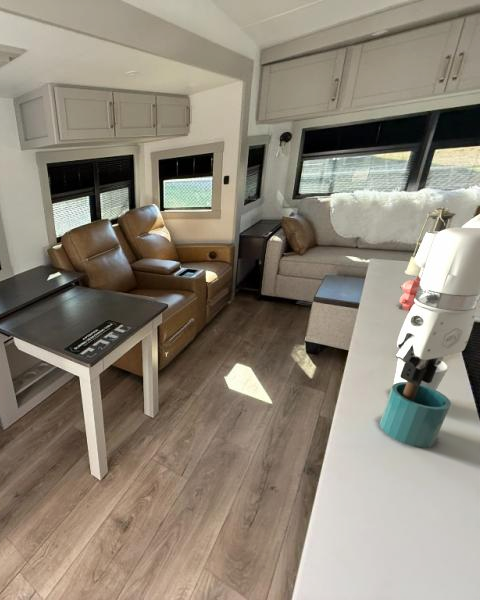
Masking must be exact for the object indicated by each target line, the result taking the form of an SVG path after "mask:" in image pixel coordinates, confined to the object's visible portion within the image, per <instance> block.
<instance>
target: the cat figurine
mask: <svg viewBox="0 0 480 600" xmlns="http://www.w3.org/2000/svg"><path fill="white" fill-rule="evenodd" d="M420 281H421V279H420V277H419V276H418V277H416V279H409V280H407V281H405V282H404V283H403V284H402V285H401V286H400V289H401V290H402V291H403V292H404V293H403V294H402V295H401V296H400V297H399V303H400V304H401V306H400V307H398V309H399V310H402V311H410V310H411V308H412V307H413V305H414V303H415V302H414V299H415V296H416V293H417V290H418V287H419V284H420Z"/></svg>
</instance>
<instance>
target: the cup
mask: <svg viewBox="0 0 480 600" xmlns="http://www.w3.org/2000/svg"><path fill="white" fill-rule="evenodd" d="M413 356H414V357H416V356H415V355H413ZM404 364H405V362H404V361H403V360H401V359H399V358H397V364H396V371H395V375H394V380H393V385H394V384H396V383H399V382H407V381H406V380H404V379H403V378H401V377H400V375H401V372H402V370H403V367H404ZM435 366H436V365H435ZM448 370H449V365H448V364H447V363H446V362H445V361H443V360H442V362H441V364H440V365H438V366H437V369H436V372H435V374H434V377H433V379H432V382H431V383H426V382H424V381H422V382H421V385H424V386H427V387H430V388H432V389H434V390H436V391H437V389H438V387H439V385H440V384H441V382H442V380H443V379H444V377H445V375H446V373H447V371H448ZM393 385H392V386H393Z"/></svg>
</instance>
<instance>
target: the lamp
mask: <svg viewBox="0 0 480 600" xmlns="http://www.w3.org/2000/svg"><path fill="white" fill-rule="evenodd" d="M426 215H427V216H426V220H425V222H424V224H423V226H422V228H421V230H420V234H419V237H418V239H417V240H416V241H415V243H416V246H415V249H414V252H413V254H412V255H411V257H410V260H409V263H408V265H407V268H406V270H405V271H404V274H406V275H408V276H411V277H416V278H418V276H419V274H420V271H421V267H419V266H418V265H417V264H416V262H415V260H414V259H415V257H416V254H417V252H418V249H419V248H420V246H421V243H422V241H423V239H422V240H421V237H422V235H423V232H424V229H425V227H426V225H427V222H428V220H429V218H430V222H429V225H428V228H427V231H426V232H429V231H437V232H441V231H442V230H445V229H449V228H450V226H451V223H452V221H453V218H454V216H456V213H454V212H450V209H449V208H448V207H445V206H442V207H437V208H436V209H434V211H433V212H427V213H426ZM418 247H419V248H418Z"/></svg>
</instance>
